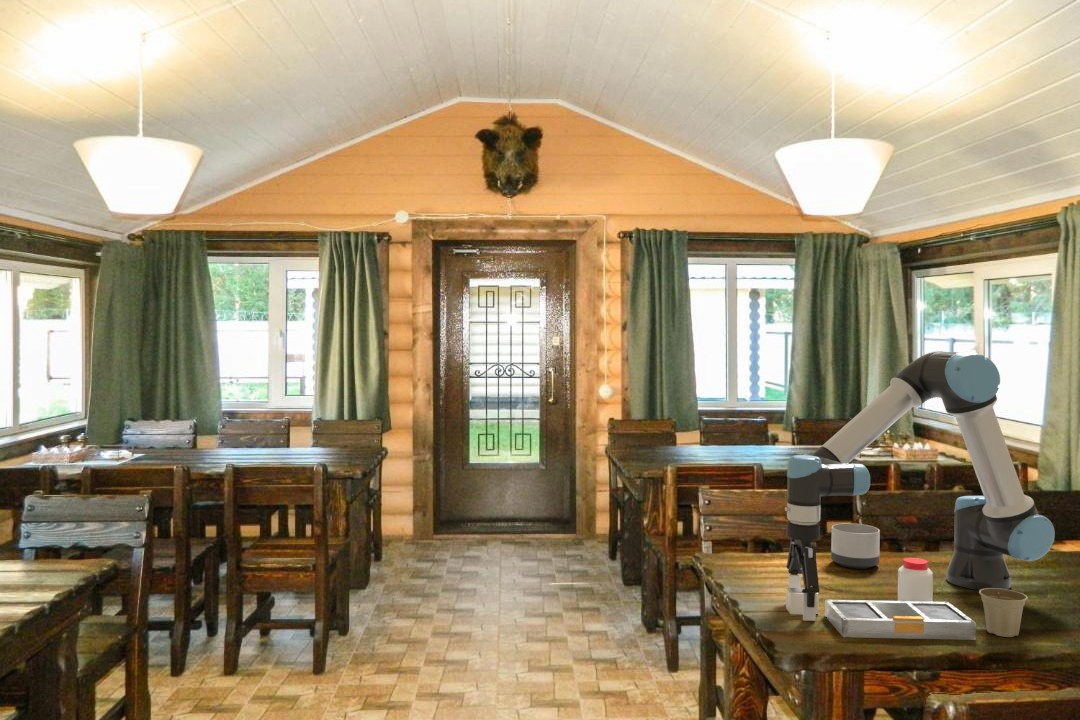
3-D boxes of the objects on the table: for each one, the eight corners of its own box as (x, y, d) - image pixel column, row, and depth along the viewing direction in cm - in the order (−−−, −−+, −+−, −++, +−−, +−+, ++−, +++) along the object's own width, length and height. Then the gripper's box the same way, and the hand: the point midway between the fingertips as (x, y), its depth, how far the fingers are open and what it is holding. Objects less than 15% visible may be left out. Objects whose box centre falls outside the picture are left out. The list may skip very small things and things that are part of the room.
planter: (822, 564, 242) (823, 528, 242) (844, 556, 251) (845, 521, 251) (865, 573, 233) (866, 536, 233) (887, 565, 242) (887, 528, 241)
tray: (947, 618, 197) (947, 599, 197) (975, 640, 183) (976, 620, 182) (824, 615, 198) (825, 597, 198) (843, 637, 184) (843, 617, 184)
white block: (813, 608, 204) (813, 587, 203) (818, 615, 199) (818, 593, 199) (785, 608, 204) (786, 586, 204) (790, 614, 199) (790, 592, 199)
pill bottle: (930, 612, 201) (930, 566, 200) (895, 607, 205) (895, 561, 204) (934, 604, 207) (935, 559, 207) (900, 598, 211) (901, 554, 211)
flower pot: (969, 625, 192) (970, 588, 191) (1008, 624, 192) (1009, 587, 192) (995, 641, 182) (995, 601, 182) (1036, 639, 183) (1037, 600, 183)
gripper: (775, 510, 213) (773, 593, 214) (800, 533, 188) (798, 628, 189) (805, 510, 213) (804, 594, 214) (835, 534, 188) (833, 629, 189)
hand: (801, 610), depth 201 cm, fingers open, 13 cm apart
